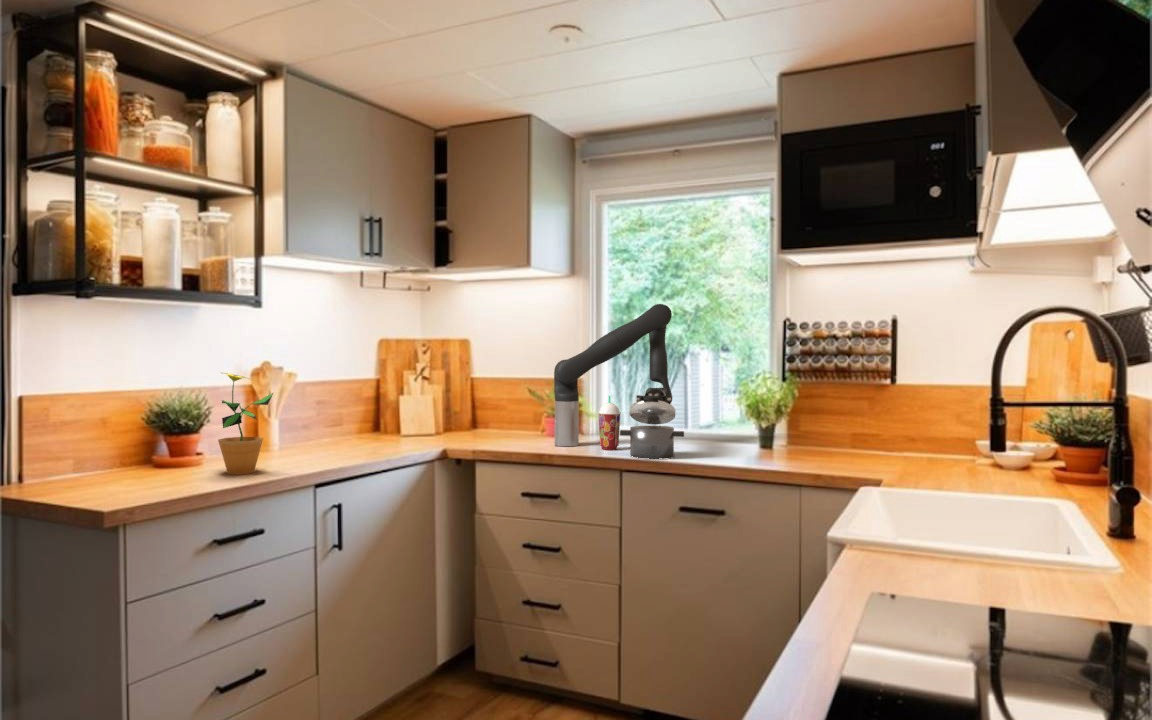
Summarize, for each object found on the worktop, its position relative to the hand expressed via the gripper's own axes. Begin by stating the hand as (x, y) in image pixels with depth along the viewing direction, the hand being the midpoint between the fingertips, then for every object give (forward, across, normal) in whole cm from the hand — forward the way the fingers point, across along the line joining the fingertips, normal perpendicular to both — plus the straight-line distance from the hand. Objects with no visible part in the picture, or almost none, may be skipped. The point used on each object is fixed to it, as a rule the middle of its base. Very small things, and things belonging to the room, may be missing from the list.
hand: (651, 399), depth 266 cm
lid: (-2, 0, +4) cm, 5 cm away
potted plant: (+57, -118, +20) cm, 133 cm away
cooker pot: (-2, 0, +20) cm, 20 cm away
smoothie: (-18, -17, +19) cm, 32 cm away
